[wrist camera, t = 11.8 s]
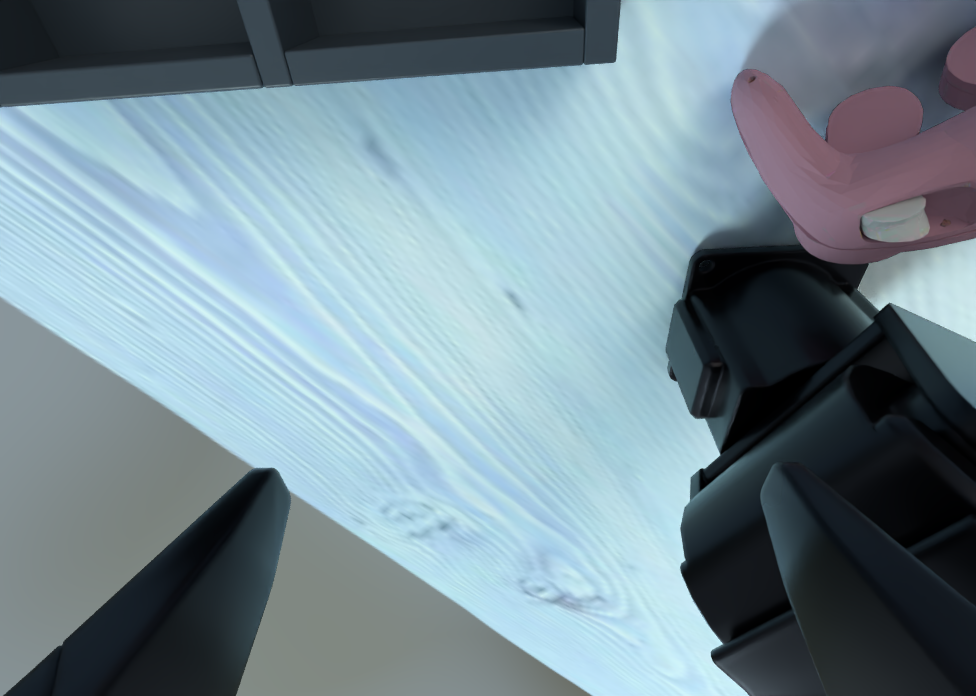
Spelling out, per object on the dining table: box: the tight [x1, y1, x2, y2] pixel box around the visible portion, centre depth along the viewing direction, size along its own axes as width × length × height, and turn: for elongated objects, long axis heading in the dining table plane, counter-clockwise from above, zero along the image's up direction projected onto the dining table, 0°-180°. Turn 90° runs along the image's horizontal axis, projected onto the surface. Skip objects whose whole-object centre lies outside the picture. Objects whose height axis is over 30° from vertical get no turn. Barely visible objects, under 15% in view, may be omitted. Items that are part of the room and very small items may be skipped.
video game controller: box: [731, 27, 976, 264], centre depth 13 cm, size 10×5×7 cm, turn 124°
